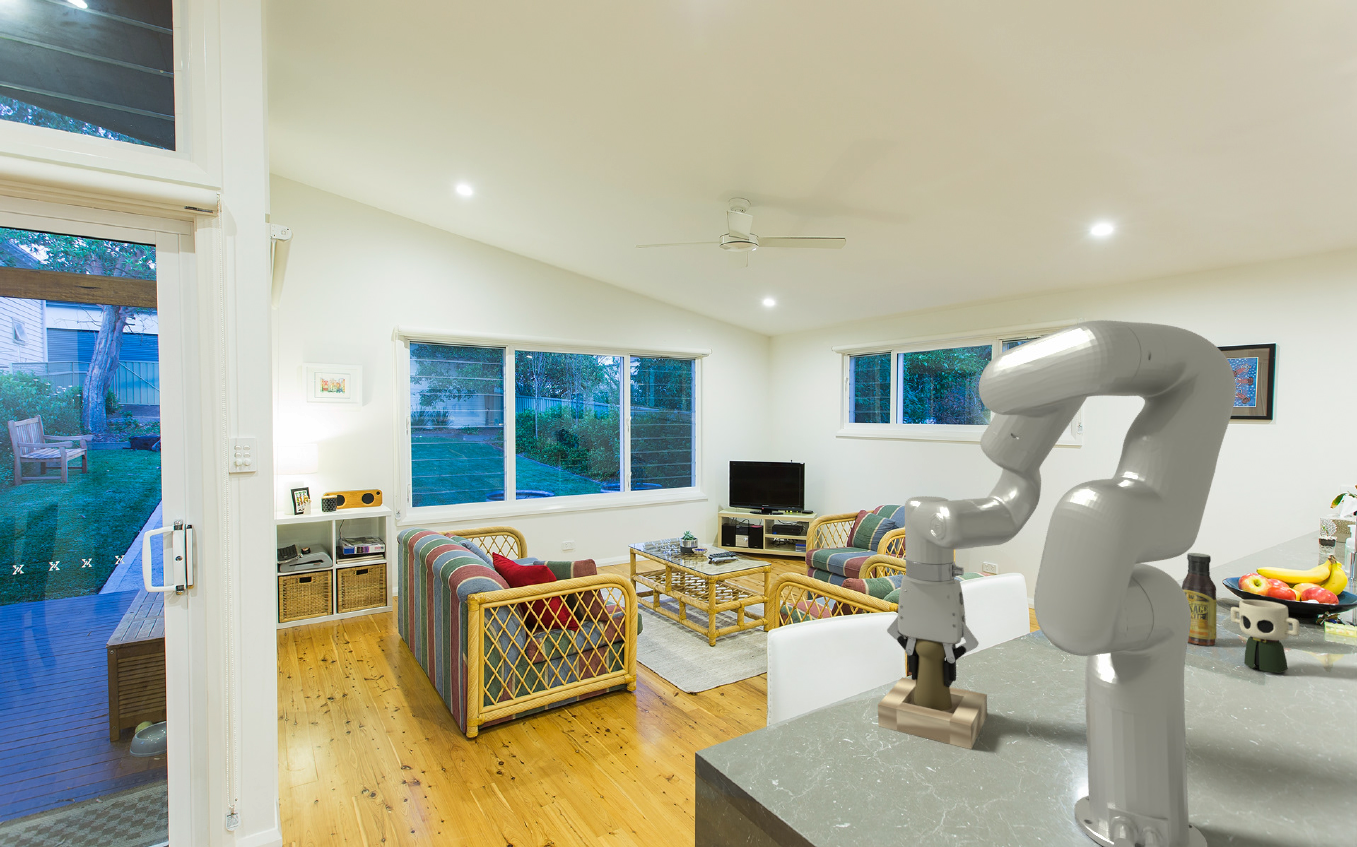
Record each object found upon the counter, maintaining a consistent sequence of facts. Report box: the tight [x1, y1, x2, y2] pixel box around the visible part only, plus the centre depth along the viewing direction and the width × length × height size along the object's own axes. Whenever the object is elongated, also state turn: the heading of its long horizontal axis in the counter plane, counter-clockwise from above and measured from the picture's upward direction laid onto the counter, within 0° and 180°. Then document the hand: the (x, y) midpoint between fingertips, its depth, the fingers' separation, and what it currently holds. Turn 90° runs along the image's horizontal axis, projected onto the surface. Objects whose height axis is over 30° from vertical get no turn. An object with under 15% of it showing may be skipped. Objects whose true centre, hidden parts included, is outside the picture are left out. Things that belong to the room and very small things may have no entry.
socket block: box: [877, 677, 988, 750], centre depth 104 cm, size 14×14×4 cm
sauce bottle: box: [1181, 552, 1218, 647], centre depth 140 cm, size 6×6×20 cm
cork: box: [914, 639, 952, 711], centre depth 104 cm, size 6×6×11 cm
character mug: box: [1230, 599, 1301, 673], centre depth 124 cm, size 11×7×13 cm, turn 22°
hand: (932, 679), depth 104 cm, fingers closed on cork, 4 cm apart
